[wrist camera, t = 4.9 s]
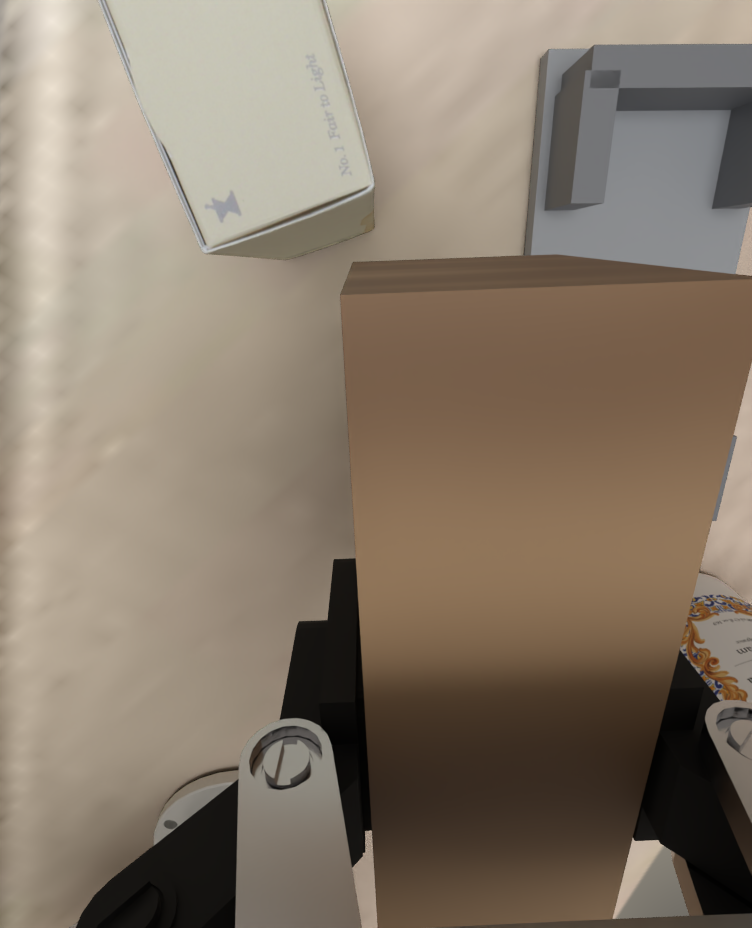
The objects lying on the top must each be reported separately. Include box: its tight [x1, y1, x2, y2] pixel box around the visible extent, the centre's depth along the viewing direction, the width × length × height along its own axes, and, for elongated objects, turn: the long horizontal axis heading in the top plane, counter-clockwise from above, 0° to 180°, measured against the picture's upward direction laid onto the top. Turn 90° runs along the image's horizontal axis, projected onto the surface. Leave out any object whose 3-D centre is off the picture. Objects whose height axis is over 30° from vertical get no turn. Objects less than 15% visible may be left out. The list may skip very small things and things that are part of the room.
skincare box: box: [98, 0, 375, 260], centre depth 16 cm, size 6×4×12 cm
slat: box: [340, 254, 752, 928], centre depth 10 cm, size 14×4×6 cm, turn 2°
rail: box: [524, 44, 752, 535], centre depth 23 cm, size 20×9×4 cm, turn 1°
